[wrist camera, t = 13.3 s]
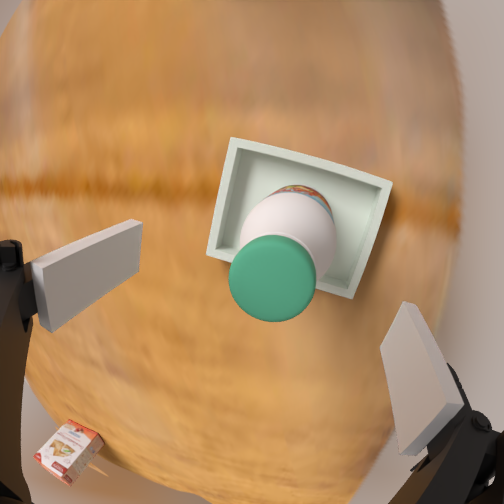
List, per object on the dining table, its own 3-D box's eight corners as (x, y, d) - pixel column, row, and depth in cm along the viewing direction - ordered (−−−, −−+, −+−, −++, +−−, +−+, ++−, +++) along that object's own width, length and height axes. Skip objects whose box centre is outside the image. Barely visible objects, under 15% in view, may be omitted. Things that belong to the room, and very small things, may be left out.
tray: (238, 138, 33) (230, 136, 30) (386, 180, 30) (392, 182, 27) (214, 247, 37) (205, 254, 35) (350, 289, 35) (352, 299, 32)
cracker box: (97, 431, 63) (60, 477, 44) (105, 443, 65) (71, 488, 45) (67, 417, 66) (31, 456, 47) (75, 429, 68) (42, 468, 49)
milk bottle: (344, 226, 32) (373, 307, 14) (289, 260, 35) (253, 366, 16) (307, 169, 32) (289, 176, 13) (252, 207, 34) (171, 261, 16)
